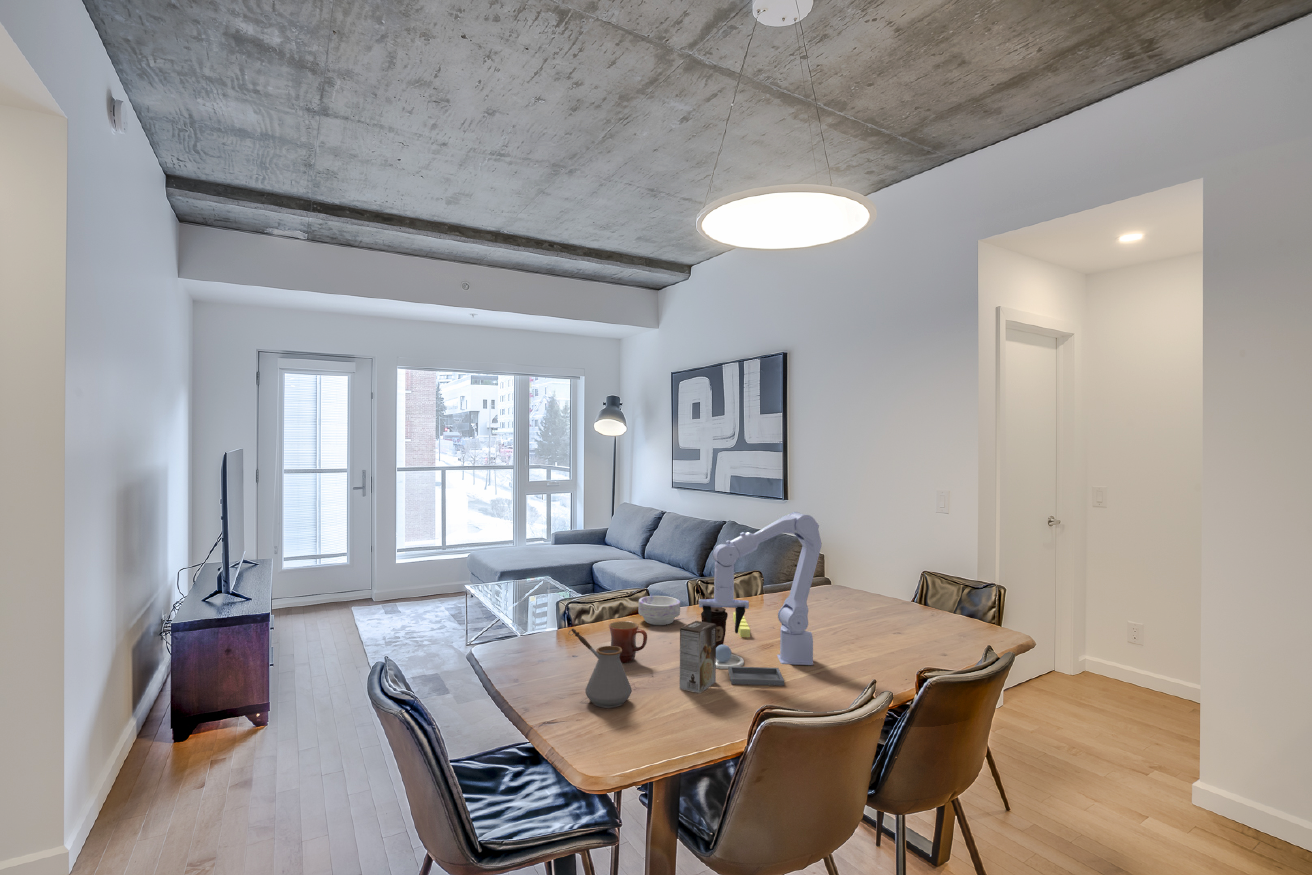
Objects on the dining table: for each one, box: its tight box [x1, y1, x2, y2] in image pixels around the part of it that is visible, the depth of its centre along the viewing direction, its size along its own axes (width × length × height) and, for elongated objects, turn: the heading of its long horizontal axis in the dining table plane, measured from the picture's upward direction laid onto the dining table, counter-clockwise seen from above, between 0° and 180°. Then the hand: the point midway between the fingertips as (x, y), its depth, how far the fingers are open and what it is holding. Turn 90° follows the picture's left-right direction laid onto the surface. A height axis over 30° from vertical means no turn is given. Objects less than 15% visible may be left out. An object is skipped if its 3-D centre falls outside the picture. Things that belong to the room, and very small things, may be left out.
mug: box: [608, 620, 648, 664], centre depth 192 cm, size 12×9×10 cm
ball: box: [716, 644, 733, 662], centre depth 191 cm, size 5×5×5 cm
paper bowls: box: [638, 595, 681, 626], centre depth 236 cm, size 15×15×8 cm
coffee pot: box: [568, 628, 633, 709], centre depth 165 cm, size 21×12×15 cm, turn 45°
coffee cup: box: [700, 607, 729, 647], centre depth 203 cm, size 9×8×13 cm
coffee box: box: [679, 620, 717, 694], centre depth 173 cm, size 9×6×16 cm
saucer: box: [716, 653, 745, 670], centre depth 191 cm, size 12×12×1 cm
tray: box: [727, 666, 785, 687], centre depth 178 cm, size 14×10×2 cm
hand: (723, 632), depth 191 cm, fingers open, 7 cm apart
